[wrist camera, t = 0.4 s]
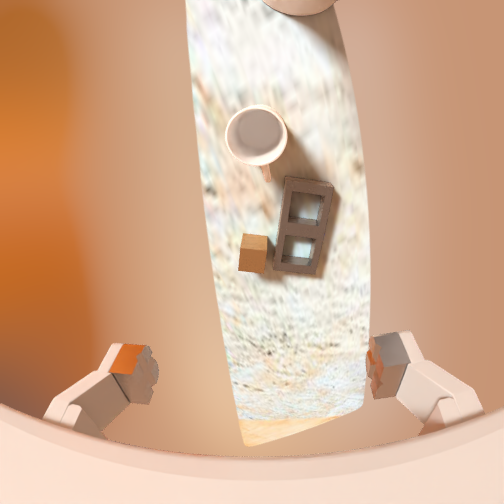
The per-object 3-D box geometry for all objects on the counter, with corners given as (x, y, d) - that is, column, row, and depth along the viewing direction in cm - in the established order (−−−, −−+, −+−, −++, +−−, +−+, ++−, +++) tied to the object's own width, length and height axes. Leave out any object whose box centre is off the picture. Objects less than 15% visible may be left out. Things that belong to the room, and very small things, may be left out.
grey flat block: (285, 176, 51) (286, 180, 49) (330, 182, 51) (333, 187, 49) (272, 261, 59) (272, 269, 57) (313, 266, 59) (315, 274, 57)
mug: (289, 169, 51) (295, 188, 40) (240, 174, 52) (232, 194, 41) (281, 102, 45) (285, 101, 35) (230, 108, 46) (218, 109, 36)
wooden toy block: (243, 233, 57) (240, 247, 52) (267, 236, 57) (266, 250, 52) (241, 254, 59) (238, 270, 54) (264, 257, 59) (263, 273, 54)
